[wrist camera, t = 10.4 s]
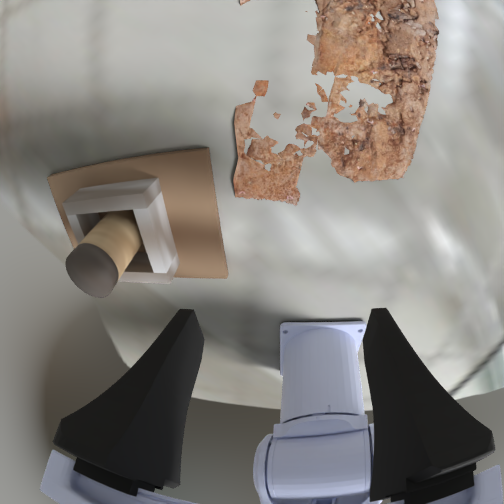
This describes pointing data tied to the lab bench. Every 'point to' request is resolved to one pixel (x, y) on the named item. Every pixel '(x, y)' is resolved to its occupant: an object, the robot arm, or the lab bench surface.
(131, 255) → the wood peg
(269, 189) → the bark
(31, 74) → the lab bench surface
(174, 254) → the holder board
